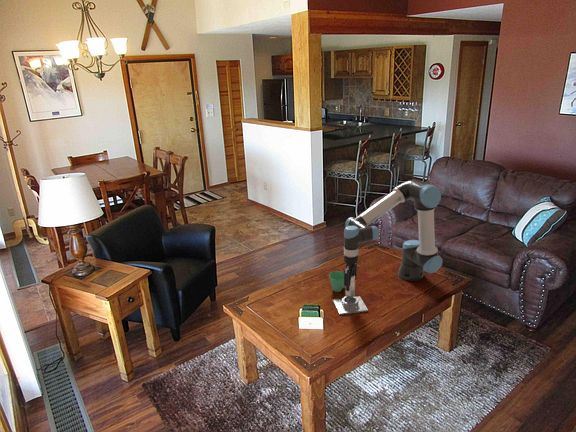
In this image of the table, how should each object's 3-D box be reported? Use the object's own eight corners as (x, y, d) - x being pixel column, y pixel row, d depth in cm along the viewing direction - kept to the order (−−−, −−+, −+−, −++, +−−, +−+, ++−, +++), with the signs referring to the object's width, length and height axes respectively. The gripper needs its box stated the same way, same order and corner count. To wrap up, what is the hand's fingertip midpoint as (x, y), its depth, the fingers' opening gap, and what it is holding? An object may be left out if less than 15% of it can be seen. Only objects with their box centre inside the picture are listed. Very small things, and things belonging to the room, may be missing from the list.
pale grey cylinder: (355, 294, 222) (356, 274, 217) (352, 298, 218) (353, 278, 213) (347, 292, 224) (347, 272, 220) (344, 296, 220) (344, 276, 216)
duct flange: (359, 297, 231) (360, 291, 230) (368, 311, 218) (368, 305, 217) (332, 301, 229) (332, 295, 228) (339, 315, 216) (339, 308, 215)
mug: (335, 295, 234) (335, 280, 230) (326, 288, 242) (325, 273, 238) (355, 288, 240) (355, 274, 237) (345, 281, 248) (345, 267, 245)
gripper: (350, 246, 221) (349, 283, 229) (337, 260, 207) (337, 299, 215) (363, 249, 218) (362, 286, 226) (351, 263, 203) (350, 302, 211)
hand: (350, 292), depth 220 cm, fingers closed on pale grey cylinder, 5 cm apart
